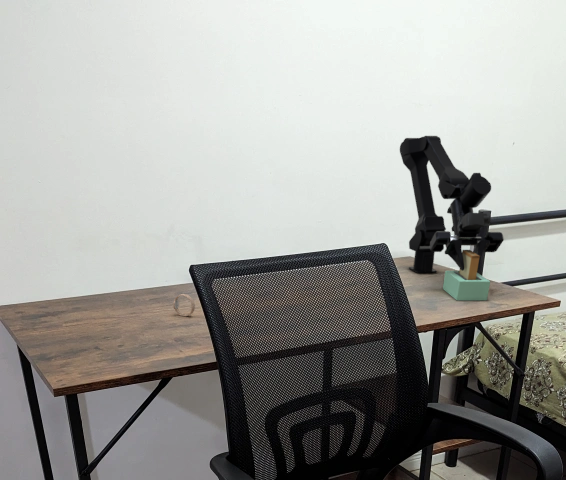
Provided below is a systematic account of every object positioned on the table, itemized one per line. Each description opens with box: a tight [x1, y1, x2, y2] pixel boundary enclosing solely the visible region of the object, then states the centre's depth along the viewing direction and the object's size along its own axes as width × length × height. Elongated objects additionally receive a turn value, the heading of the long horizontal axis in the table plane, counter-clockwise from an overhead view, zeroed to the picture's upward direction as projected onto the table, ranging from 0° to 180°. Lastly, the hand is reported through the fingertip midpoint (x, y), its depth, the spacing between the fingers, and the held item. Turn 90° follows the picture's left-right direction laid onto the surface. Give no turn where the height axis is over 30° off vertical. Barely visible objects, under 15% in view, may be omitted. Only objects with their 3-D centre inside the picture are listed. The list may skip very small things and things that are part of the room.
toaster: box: [442, 270, 491, 301], centre depth 194 cm, size 12×10×5 cm
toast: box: [458, 249, 480, 280], centre depth 193 cm, size 8×2×10 cm, turn 7°
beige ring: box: [172, 293, 196, 317], centre depth 169 cm, size 3×5×5 cm, turn 70°
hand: (470, 269), depth 191 cm, fingers open, 4 cm apart
